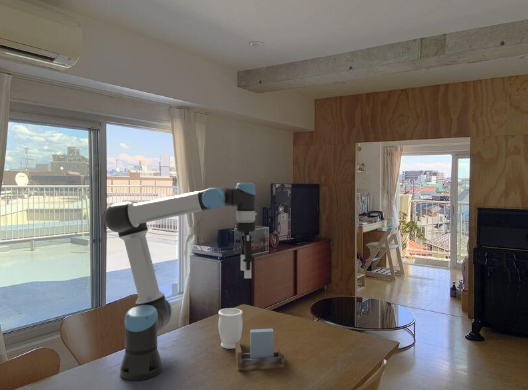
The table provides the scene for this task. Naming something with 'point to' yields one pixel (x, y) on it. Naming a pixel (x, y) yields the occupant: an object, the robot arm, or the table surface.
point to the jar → (230, 327)
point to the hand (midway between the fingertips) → (245, 274)
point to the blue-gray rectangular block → (261, 343)
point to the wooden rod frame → (258, 360)
